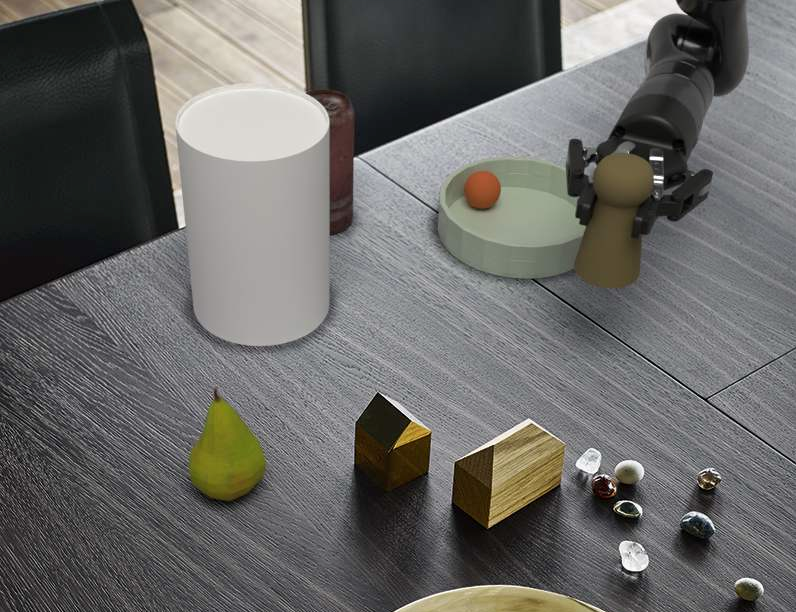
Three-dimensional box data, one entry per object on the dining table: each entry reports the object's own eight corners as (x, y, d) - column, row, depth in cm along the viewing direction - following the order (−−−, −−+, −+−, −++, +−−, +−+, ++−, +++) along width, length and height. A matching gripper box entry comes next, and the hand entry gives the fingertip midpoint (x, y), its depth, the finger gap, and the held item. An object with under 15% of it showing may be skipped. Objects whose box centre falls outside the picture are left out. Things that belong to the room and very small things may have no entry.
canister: (179, 338, 121) (158, 153, 106) (209, 257, 130) (194, 76, 116) (318, 352, 120) (316, 168, 106) (338, 270, 130) (339, 90, 115)
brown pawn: (562, 256, 116) (578, 149, 108) (620, 244, 117) (640, 138, 109) (592, 294, 112) (611, 186, 104) (652, 281, 113) (675, 174, 105)
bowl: (590, 192, 142) (595, 160, 139) (602, 283, 130) (608, 250, 127) (438, 184, 142) (440, 152, 139) (436, 274, 130) (439, 241, 127)
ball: (498, 196, 139) (502, 164, 137) (499, 216, 137) (503, 184, 134) (462, 194, 139) (465, 162, 137) (462, 214, 137) (465, 182, 134)
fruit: (258, 458, 110) (252, 351, 101) (272, 508, 106) (267, 401, 97) (185, 469, 109) (173, 362, 100) (196, 520, 104) (184, 413, 96)
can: (290, 207, 137) (287, 88, 127) (347, 203, 138) (349, 85, 128) (297, 239, 133) (294, 118, 123) (356, 234, 134) (358, 115, 124)
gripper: (591, 76, 118) (536, 165, 107) (741, 109, 115) (700, 205, 103) (580, 148, 123) (526, 240, 112) (723, 181, 120) (682, 279, 109)
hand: (610, 222), depth 108 cm, fingers closed on brown pawn, 4 cm apart
